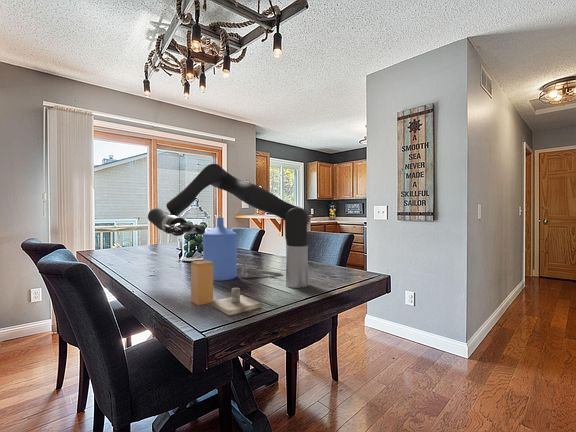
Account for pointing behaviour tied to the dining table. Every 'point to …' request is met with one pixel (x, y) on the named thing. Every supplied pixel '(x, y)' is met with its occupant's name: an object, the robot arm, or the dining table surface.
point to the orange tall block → (201, 282)
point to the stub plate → (235, 303)
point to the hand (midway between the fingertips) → (191, 232)
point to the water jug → (221, 251)
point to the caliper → (256, 271)
